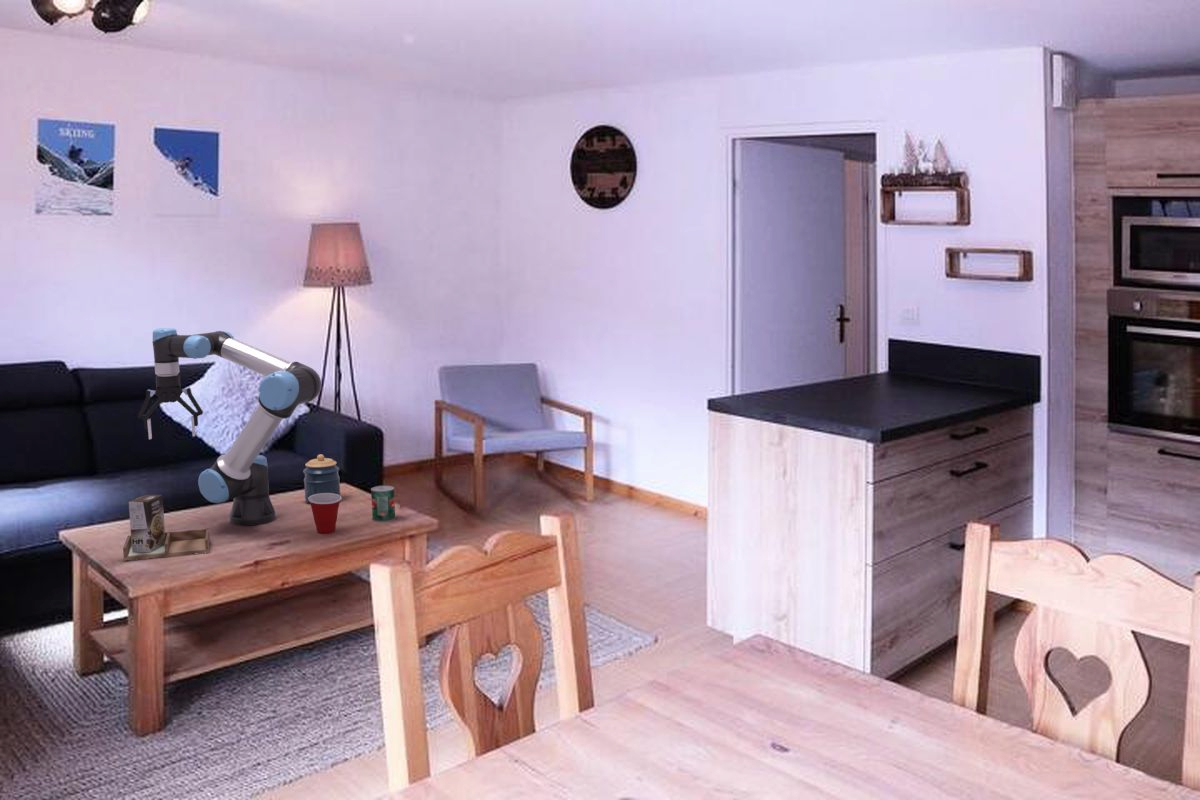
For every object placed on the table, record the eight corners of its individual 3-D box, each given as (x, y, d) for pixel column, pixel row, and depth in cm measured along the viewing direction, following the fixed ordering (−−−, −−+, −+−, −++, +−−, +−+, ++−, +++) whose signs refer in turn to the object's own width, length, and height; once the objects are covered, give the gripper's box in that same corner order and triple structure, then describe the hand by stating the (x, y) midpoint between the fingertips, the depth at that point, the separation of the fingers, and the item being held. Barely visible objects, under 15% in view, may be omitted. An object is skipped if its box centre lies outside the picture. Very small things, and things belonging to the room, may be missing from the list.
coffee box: (151, 552, 312) (147, 501, 309) (131, 552, 313) (127, 501, 310) (167, 544, 321) (163, 494, 318) (147, 543, 322) (143, 494, 319)
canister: (321, 506, 370) (319, 459, 367) (297, 502, 377) (294, 455, 374) (348, 499, 381) (346, 453, 378) (324, 494, 388) (322, 449, 385)
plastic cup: (321, 538, 331) (319, 502, 329) (303, 532, 338) (301, 497, 336) (349, 531, 339) (348, 496, 337) (331, 525, 346) (329, 491, 344)
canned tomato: (399, 519, 352) (398, 488, 351) (378, 523, 348) (376, 492, 346) (389, 514, 359) (388, 484, 357) (368, 518, 354) (367, 487, 352)
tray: (209, 540, 329) (209, 528, 329) (208, 552, 316) (207, 539, 316) (128, 548, 321) (127, 535, 321) (124, 561, 308) (123, 548, 308)
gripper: (207, 371, 347) (212, 432, 350) (127, 375, 339) (132, 437, 342) (207, 374, 340) (211, 436, 343) (125, 378, 332) (130, 441, 335)
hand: (172, 437), depth 342 cm, fingers open, 13 cm apart
